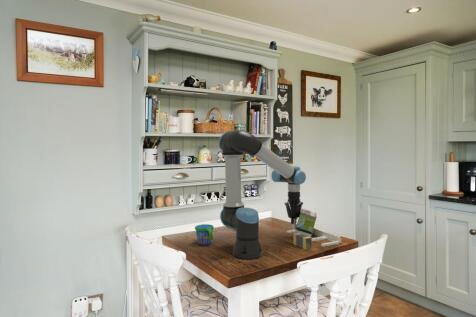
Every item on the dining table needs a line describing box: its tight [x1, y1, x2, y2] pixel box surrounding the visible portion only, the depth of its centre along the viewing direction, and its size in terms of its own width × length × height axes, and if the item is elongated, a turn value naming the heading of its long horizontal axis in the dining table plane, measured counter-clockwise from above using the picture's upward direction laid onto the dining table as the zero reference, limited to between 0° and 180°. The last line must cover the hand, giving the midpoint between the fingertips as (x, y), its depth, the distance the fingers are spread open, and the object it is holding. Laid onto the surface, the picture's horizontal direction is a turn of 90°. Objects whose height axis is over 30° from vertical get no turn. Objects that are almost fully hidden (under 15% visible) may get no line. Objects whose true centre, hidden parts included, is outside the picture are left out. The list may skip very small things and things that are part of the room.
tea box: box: [294, 208, 317, 237], centre depth 197 cm, size 15×10×15 cm, turn 167°
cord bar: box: [293, 233, 313, 250], centre depth 177 cm, size 4×11×6 cm, turn 26°
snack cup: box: [194, 223, 215, 246], centre depth 184 cm, size 16×11×10 cm
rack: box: [286, 227, 342, 247], centre depth 195 cm, size 14×35×4 cm, turn 26°
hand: (293, 229), depth 196 cm, fingers closed
